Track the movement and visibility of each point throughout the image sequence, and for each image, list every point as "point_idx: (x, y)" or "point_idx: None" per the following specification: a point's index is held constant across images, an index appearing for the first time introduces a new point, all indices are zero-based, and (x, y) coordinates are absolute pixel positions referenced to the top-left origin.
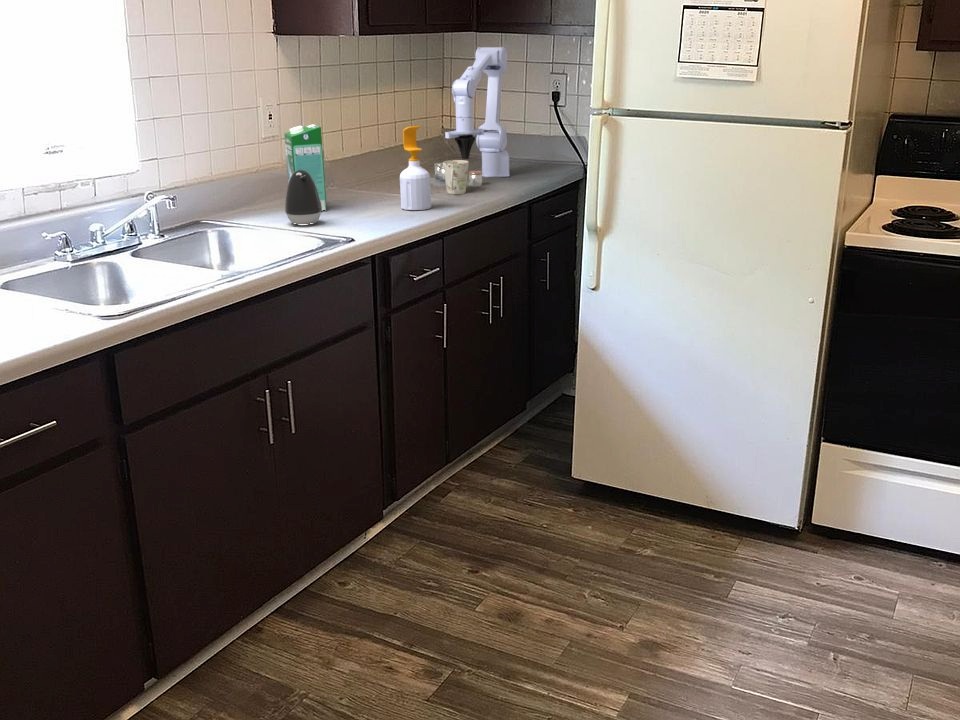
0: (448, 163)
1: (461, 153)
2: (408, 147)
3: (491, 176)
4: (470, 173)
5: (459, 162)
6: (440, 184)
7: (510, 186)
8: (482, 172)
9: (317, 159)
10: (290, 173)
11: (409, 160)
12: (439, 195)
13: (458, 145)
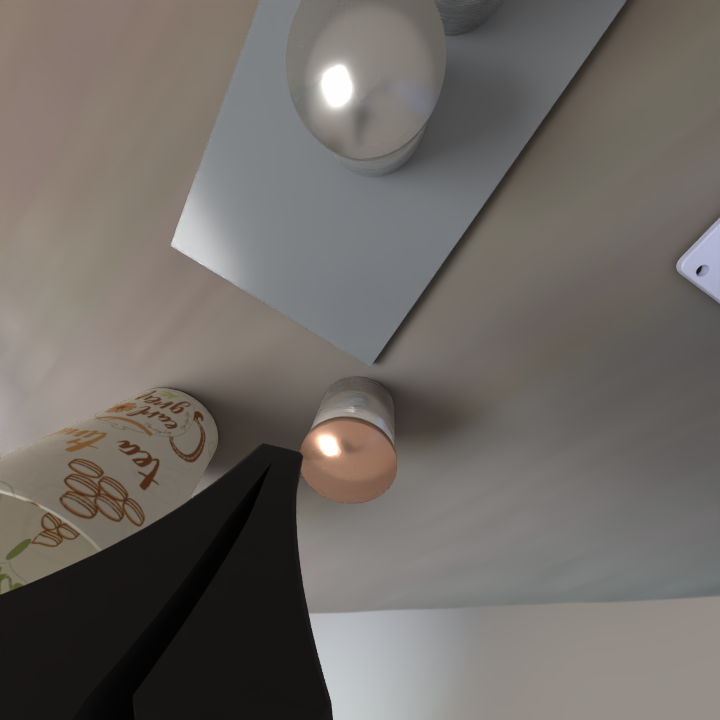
0: (20, 478)
1: (231, 478)
2: None
3: (715, 296)
4: (300, 452)
5: (108, 534)
6: (233, 216)
7: (466, 530)
8: (374, 495)
9: None
10: None
11: None
12: (73, 406)
13: (125, 548)
